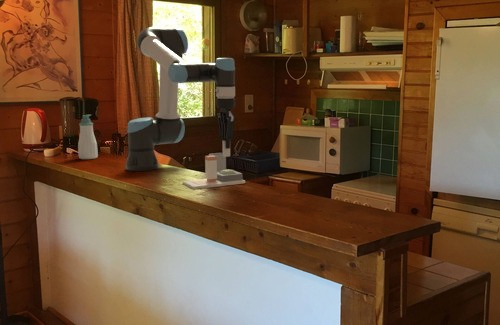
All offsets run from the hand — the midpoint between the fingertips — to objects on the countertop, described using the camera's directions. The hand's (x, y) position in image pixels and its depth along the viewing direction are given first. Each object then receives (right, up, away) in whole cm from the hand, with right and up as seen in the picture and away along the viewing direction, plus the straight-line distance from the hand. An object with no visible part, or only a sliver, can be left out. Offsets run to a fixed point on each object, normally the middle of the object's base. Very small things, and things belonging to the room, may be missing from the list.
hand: (226, 156), depth 228 cm
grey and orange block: (-6, -10, -3) cm, 12 cm away
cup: (-5, -8, +18) cm, 21 cm away
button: (0, -9, +1) cm, 9 cm away
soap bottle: (-76, 0, +72) cm, 105 cm away
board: (-5, -11, -2) cm, 12 cm away
